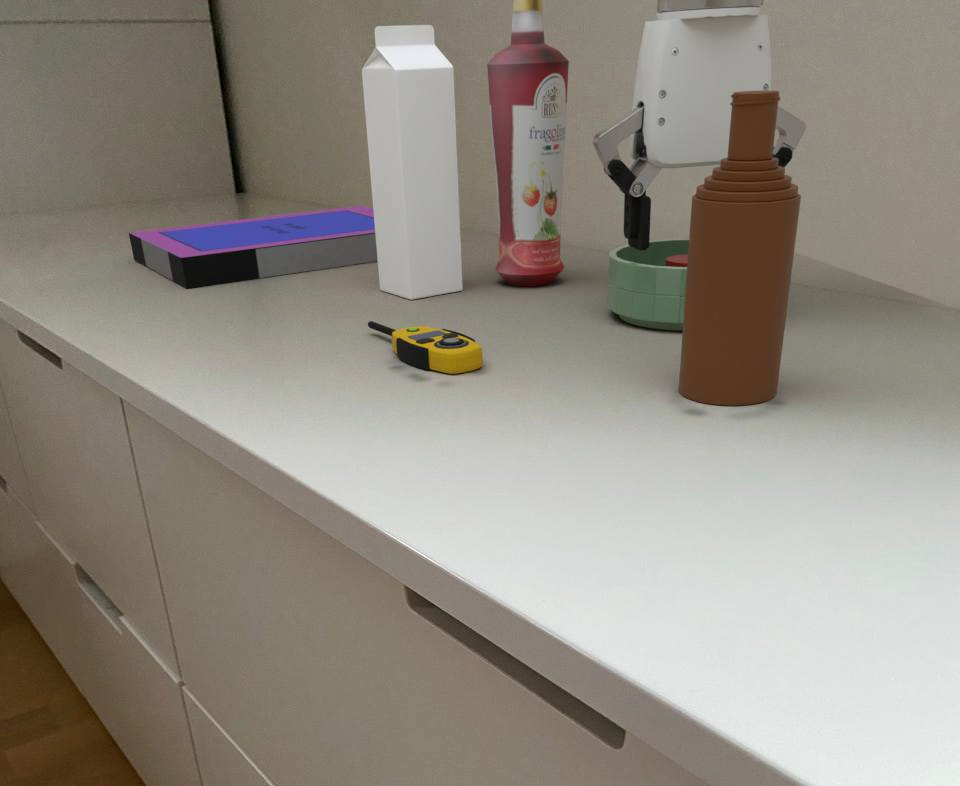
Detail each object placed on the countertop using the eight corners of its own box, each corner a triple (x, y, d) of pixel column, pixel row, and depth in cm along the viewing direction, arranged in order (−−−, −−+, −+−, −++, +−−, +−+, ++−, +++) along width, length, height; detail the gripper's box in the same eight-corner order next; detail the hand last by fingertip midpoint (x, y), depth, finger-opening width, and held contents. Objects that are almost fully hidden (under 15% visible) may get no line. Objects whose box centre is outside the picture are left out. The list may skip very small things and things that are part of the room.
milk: (379, 291, 97) (355, 27, 85) (431, 282, 99) (414, 26, 88) (411, 300, 92) (390, 24, 81) (464, 290, 95) (452, 22, 84)
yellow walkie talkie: (439, 352, 69) (341, 314, 80) (441, 379, 70) (344, 338, 81) (495, 340, 72) (393, 305, 82) (496, 366, 73) (394, 328, 83)
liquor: (527, 293, 93) (523, -69, 79) (478, 282, 98) (466, -60, 84) (582, 280, 97) (588, -66, 83) (532, 271, 102) (529, -58, 88)
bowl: (724, 292, 91) (729, 234, 88) (793, 325, 80) (801, 260, 77) (587, 304, 89) (589, 245, 86) (638, 339, 77) (641, 273, 75)
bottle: (748, 372, 69) (779, 87, 60) (794, 399, 64) (836, 90, 54) (663, 382, 68) (681, 92, 59) (703, 410, 62) (730, 96, 53)
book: (128, 232, 115) (360, 205, 127) (134, 259, 116) (363, 230, 129) (180, 257, 99) (439, 224, 112) (186, 288, 101) (440, 252, 114)
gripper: (793, -7, 77) (769, 227, 86) (581, 3, 74) (579, 244, 83) (843, -13, 70) (812, 241, 79) (613, -2, 68) (608, 259, 77)
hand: (693, 242), depth 81 cm, fingers open, 9 cm apart
